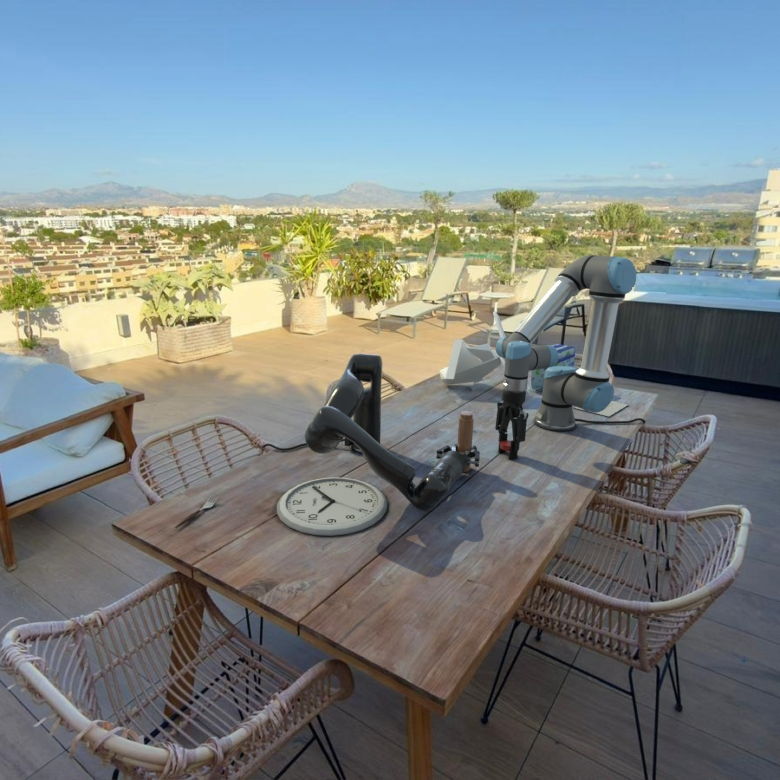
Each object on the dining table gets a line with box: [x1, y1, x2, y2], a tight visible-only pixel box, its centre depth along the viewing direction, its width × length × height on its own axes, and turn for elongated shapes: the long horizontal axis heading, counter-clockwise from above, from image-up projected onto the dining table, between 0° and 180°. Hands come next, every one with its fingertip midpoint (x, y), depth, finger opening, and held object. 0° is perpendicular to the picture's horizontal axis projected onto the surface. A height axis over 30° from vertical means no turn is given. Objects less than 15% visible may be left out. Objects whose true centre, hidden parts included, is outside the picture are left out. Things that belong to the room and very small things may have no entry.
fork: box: [174, 492, 220, 529], centre depth 137 cm, size 3×16×2 cm, turn 160°
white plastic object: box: [438, 310, 531, 397], centre depth 245 cm, size 37×45×31 cm
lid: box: [500, 439, 511, 452], centre depth 175 cm, size 5×5×2 cm
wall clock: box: [276, 476, 388, 537], centre depth 142 cm, size 30×2×30 cm
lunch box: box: [530, 343, 576, 392], centre depth 248 cm, size 26×11×21 cm, turn 134°
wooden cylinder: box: [457, 410, 475, 473], centre depth 163 cm, size 4×4×19 cm
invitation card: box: [573, 400, 629, 418], centre depth 226 cm, size 21×1×15 cm
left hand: (467, 446), depth 166 cm, fingers closed on wooden cylinder, 4 cm apart
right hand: (507, 455), depth 176 cm, fingers closed on lid, 5 cm apart
